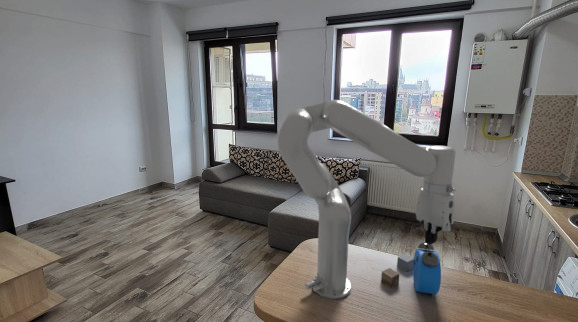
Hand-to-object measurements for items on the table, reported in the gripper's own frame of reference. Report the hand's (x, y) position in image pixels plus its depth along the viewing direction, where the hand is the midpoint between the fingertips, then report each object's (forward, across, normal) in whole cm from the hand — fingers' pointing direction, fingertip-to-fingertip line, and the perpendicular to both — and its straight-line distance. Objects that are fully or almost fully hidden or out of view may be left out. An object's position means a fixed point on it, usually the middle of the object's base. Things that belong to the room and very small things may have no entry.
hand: (430, 242), depth 92 cm
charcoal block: (+17, +11, -5) cm, 21 cm away
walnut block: (+17, +8, +7) cm, 20 cm away
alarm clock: (+17, 0, 0) cm, 17 cm away
